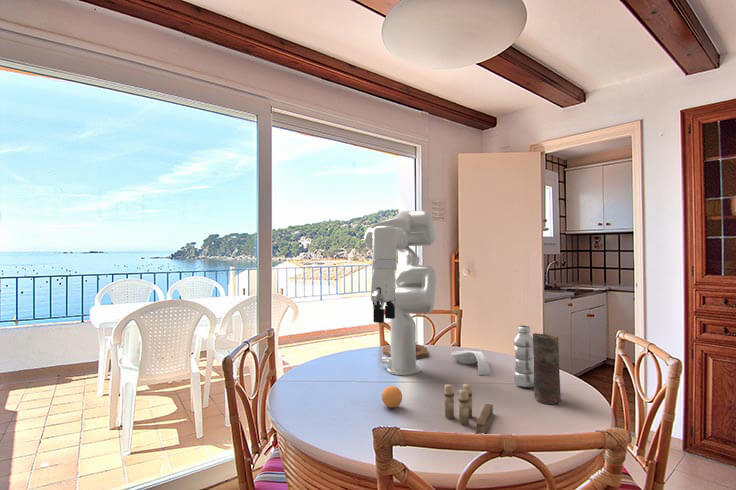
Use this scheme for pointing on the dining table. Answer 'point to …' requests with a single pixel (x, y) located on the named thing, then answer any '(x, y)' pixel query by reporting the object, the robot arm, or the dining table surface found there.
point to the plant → (420, 351)
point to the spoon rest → (473, 360)
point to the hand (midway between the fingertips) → (384, 320)
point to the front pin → (449, 401)
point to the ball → (391, 396)
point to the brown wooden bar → (484, 418)
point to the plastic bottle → (524, 357)
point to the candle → (546, 368)
